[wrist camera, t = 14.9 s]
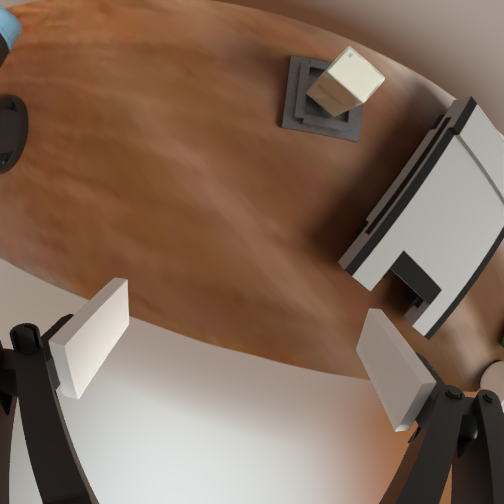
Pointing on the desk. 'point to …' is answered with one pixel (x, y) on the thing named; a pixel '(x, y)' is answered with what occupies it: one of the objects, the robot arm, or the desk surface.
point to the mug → (494, 380)
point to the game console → (437, 217)
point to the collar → (315, 104)
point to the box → (345, 83)
